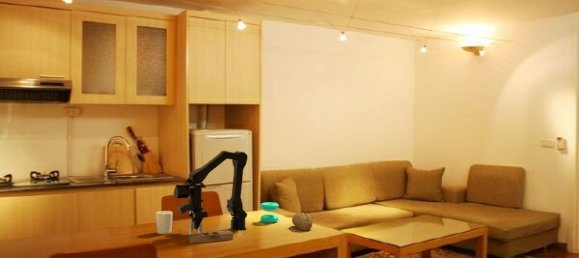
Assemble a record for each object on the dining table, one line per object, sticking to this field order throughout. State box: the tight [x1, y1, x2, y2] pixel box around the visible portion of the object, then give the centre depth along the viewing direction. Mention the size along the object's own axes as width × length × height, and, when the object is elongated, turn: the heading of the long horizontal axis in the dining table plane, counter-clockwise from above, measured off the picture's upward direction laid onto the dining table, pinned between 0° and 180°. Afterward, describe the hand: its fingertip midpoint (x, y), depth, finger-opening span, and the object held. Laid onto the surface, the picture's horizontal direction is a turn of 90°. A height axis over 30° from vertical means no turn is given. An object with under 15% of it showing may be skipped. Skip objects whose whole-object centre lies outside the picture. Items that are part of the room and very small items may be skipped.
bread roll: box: [291, 212, 313, 232], centre depth 263 cm, size 10×15×8 cm, turn 23°
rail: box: [187, 230, 234, 245], centre depth 236 cm, size 6×20×3 cm, turn 117°
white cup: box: [155, 210, 174, 235], centre depth 251 cm, size 8×8×10 cm
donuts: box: [260, 201, 280, 224], centre depth 278 cm, size 10×10×10 cm
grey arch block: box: [188, 221, 204, 234], centre depth 248 cm, size 2×6×6 cm, turn 117°
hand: (195, 229), depth 248 cm, fingers closed on grey arch block, 2 cm apart
